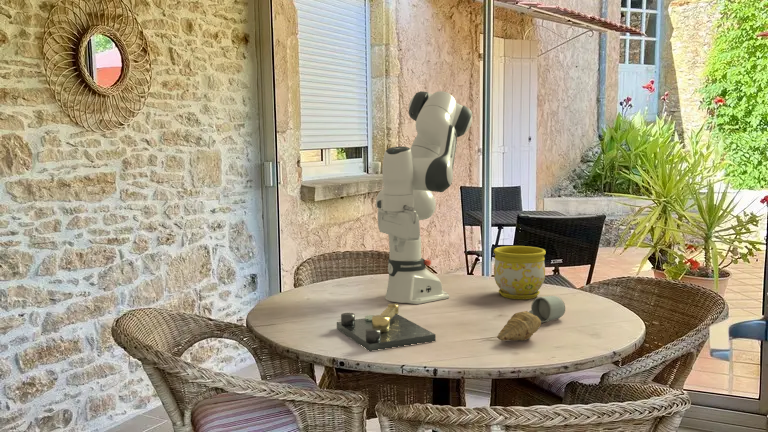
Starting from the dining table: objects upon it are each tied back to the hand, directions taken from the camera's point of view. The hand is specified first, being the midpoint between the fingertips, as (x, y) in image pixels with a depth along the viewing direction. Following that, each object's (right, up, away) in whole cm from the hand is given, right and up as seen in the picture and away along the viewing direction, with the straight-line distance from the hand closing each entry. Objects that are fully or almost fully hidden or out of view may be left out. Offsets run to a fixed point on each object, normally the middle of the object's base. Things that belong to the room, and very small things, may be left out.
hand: (398, 251), depth 196 cm
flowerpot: (+44, -18, +45) cm, 66 cm away
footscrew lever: (-3, -21, +3) cm, 21 cm away
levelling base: (-4, -24, -1) cm, 24 cm away
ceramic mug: (+45, -22, +15) cm, 53 cm away
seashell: (+32, -25, -8) cm, 41 cm away
